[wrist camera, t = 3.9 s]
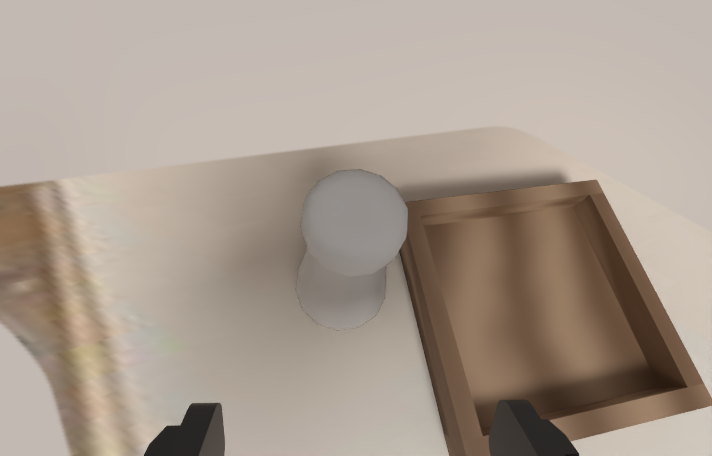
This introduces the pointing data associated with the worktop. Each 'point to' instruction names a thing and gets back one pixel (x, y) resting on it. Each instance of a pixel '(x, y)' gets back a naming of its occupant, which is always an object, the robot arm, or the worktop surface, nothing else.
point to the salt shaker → (349, 247)
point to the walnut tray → (540, 315)
